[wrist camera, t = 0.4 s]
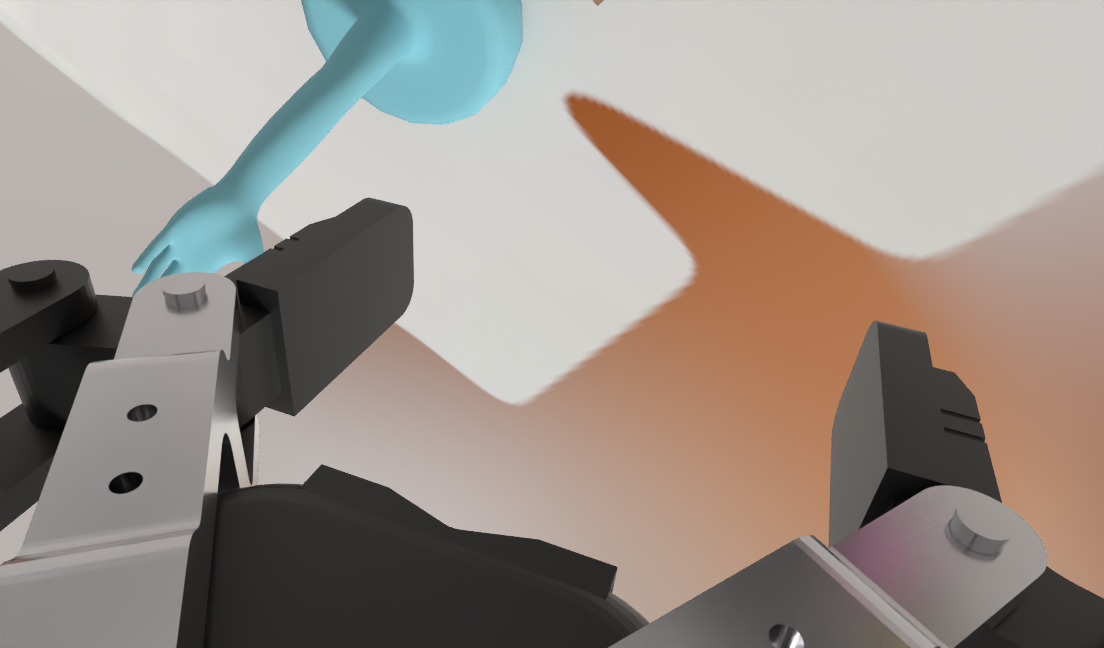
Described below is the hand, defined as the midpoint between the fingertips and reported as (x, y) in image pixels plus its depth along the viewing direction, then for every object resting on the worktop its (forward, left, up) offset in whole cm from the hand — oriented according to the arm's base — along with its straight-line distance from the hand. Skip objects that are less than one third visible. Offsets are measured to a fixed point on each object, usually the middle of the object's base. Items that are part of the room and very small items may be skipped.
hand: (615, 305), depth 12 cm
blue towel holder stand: (-7, -20, -29) cm, 36 cm away
